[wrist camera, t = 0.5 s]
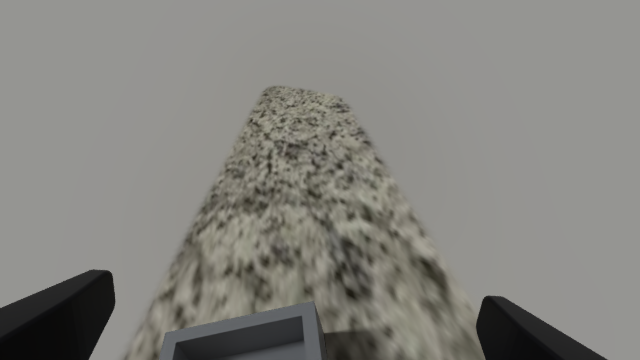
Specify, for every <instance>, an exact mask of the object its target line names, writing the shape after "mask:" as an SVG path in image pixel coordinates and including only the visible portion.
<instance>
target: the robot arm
mask: <svg viewBox="0 0 640 360" xmlns="http://www.w3.org/2000/svg"><path fill="white" fill-rule="evenodd" d="M114 306H115V292H114V284H113V276H112V273H111V272H110V271H107V270H89V271H87V272H85V273H82V274H80V275H78V276H75V277H73V278H71V279H68V280H66V281H63V282H61V283H59V284H56V285H54V286H52V287H49V288H47V289H45V290H42V291H40V292H38V293H35V294H33V295H30V296H28V297H26V298H23V299H21V300H19V301H16V302H14V303H11V304H9V305H7V306H5V307H2V308H0V360H89V358H90V356H91V354H92V352H93V350H94V348H95V346H96V344H97V342H98V340H99V338H100V336H101V334H102V332H103V330H104V327H105V326H106V324H107V322H108V320H109V318H110V316H111V314H112V312H113V310H114ZM476 330H477V335H478V338H479V341H480V344H481V347H482V350H483V353H484V356H485V359H486V360H607V359H605V358H604V357H602V356H600V355H599V354H597V353H595V352H594V351H592V350H591V349H589V348H587V347H586V346H584V345H582V344H581V343H579V342H577V341H576V340H574V339H572V338H571V337H569V336H567V335H566V334H564V333H562V332H561V331H559V330H557V329H556V328H554V327H552V326H551V325H549V324H547V323H546V322H544V321H542V320H541V319H539V318H537V317H536V316H534V315H532V314H531V313H529V312H527V311H526V310H524V309H522V308H521V307H519V306H517V305H515V304H514V303H512V302H511V301H509V300H507V299H506V298H504V297H501V296H486V297H484V299H483V301H482V305H481V308H480V312H479V315H478V319H477V323H476Z"/></svg>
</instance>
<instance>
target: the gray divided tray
mask: <svg viewBox="0 0 640 360" xmlns="http://www.w3.org/2000/svg"><path fill="white" fill-rule="evenodd" d="M159 360H327V353H326V346H325V339H324V332H323V329H322V326H321V323H320V319H319V316H318V313H317V309H316V306H315V303H314V301H311V302H307V303H302V304H297V305H293V306H288V307H283V308H279V309H274V310H269V311H265V312H260V313H255V314H250V315H246V316H241V317H236V318H232V319H227V320H222V321H218V322H213V323H208V324H204V325H199V326H194V327H190V328H185V329H180V330H176V331H171V332H166V333H165V337H164V341H163V345H162V349H161V353H160V358H159Z"/></svg>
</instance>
